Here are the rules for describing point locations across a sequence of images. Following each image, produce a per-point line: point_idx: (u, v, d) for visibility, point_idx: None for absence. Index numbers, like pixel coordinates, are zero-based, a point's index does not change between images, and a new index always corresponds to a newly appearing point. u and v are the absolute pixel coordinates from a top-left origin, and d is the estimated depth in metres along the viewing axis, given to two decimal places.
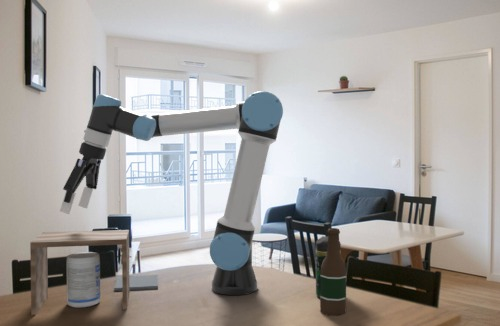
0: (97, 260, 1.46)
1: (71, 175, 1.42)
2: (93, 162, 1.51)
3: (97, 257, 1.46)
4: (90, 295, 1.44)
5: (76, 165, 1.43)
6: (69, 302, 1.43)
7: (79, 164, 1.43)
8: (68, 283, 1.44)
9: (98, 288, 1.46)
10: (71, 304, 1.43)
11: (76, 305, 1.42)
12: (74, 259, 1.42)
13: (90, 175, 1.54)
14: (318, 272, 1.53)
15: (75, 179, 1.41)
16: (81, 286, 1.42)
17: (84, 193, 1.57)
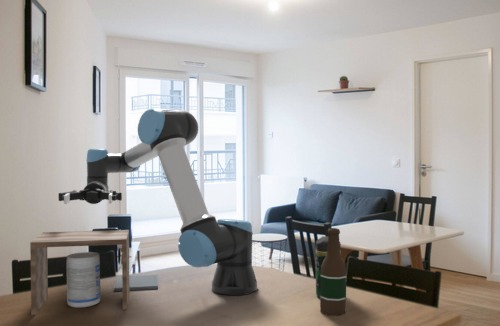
0: (97, 260, 1.46)
1: None
2: None
3: (97, 257, 1.46)
4: (90, 295, 1.44)
5: None
6: (69, 302, 1.43)
7: None
8: (68, 283, 1.44)
9: (98, 288, 1.46)
10: (71, 304, 1.43)
11: (76, 305, 1.42)
12: (74, 259, 1.42)
13: (102, 194, 1.67)
14: (318, 272, 1.53)
15: None
16: (81, 286, 1.42)
17: None
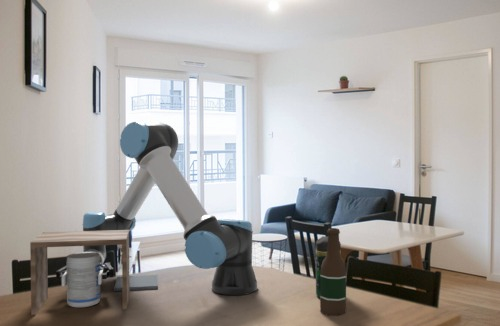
0: (97, 260, 1.46)
1: None
2: None
3: (97, 257, 1.46)
4: (90, 295, 1.44)
5: None
6: (69, 302, 1.43)
7: None
8: (68, 283, 1.44)
9: (98, 288, 1.46)
10: (71, 304, 1.43)
11: (76, 305, 1.42)
12: (74, 259, 1.42)
13: None
14: (318, 272, 1.53)
15: None
16: (81, 286, 1.42)
17: None
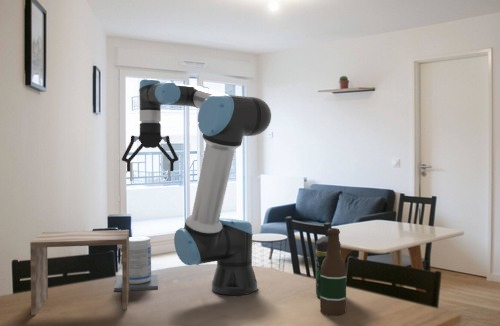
0: (149, 243, 1.67)
1: None
2: (151, 137, 1.77)
3: (149, 240, 1.67)
4: (144, 273, 1.64)
5: None
6: None
7: None
8: None
9: (150, 267, 1.67)
10: None
11: (132, 282, 1.63)
12: (130, 242, 1.63)
13: None
14: (318, 272, 1.53)
15: (125, 151, 1.76)
16: (136, 265, 1.63)
17: None
